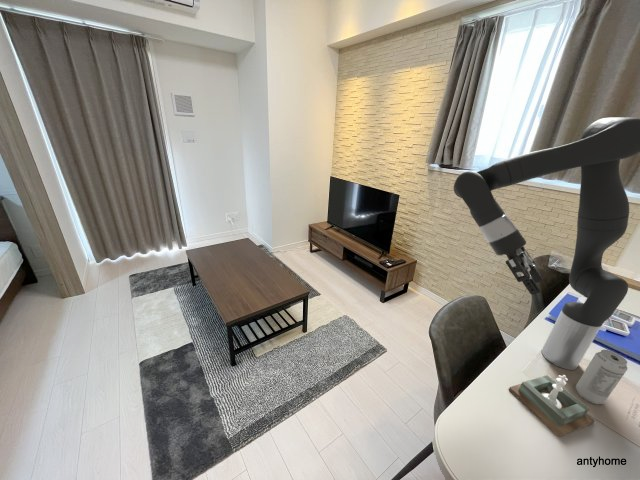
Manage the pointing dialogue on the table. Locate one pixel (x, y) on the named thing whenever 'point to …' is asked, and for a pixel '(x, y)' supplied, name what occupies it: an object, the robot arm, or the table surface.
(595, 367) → the energy drink can
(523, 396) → the socket board
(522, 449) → the table surface
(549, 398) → the chess piece
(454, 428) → the table surface
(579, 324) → the robot arm
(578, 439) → the table surface
